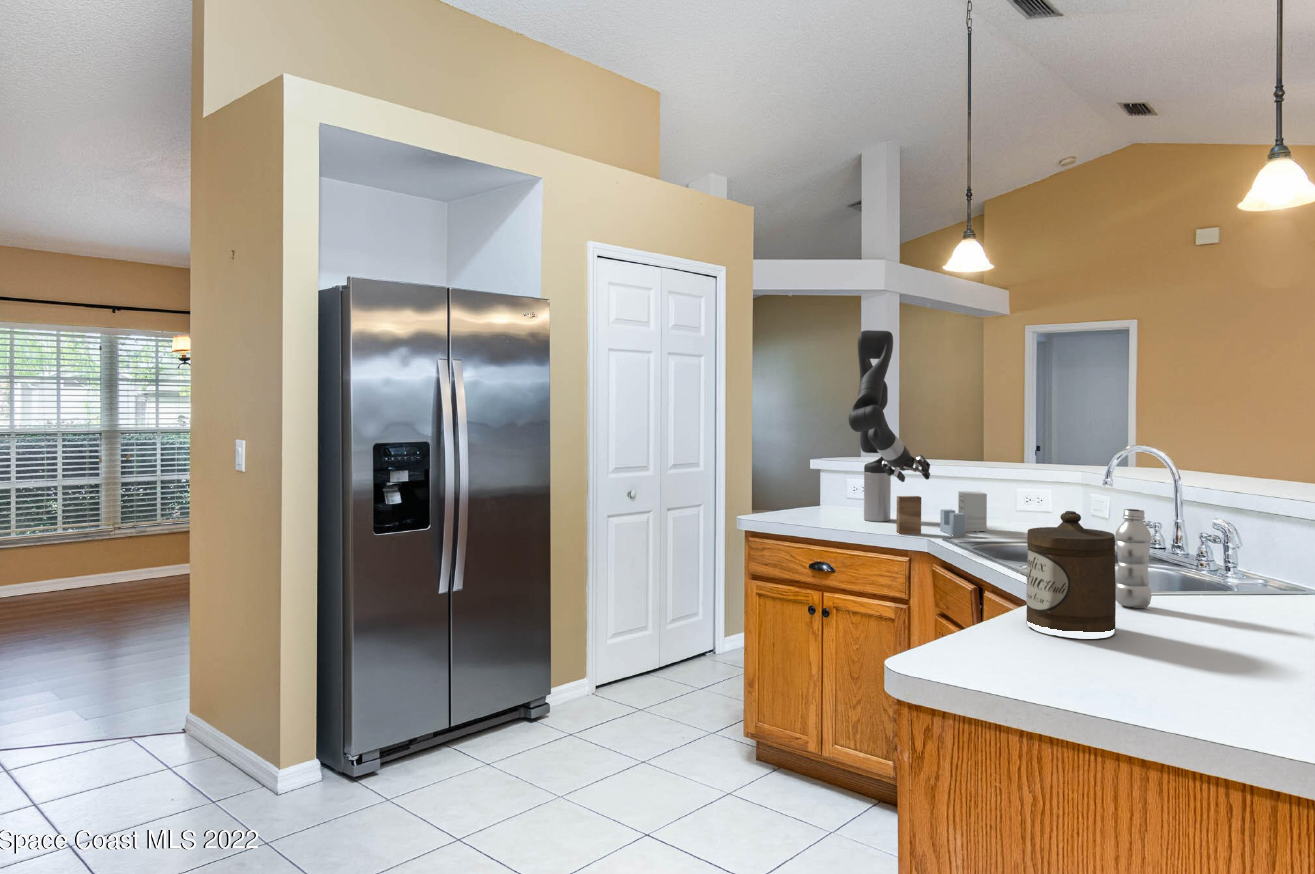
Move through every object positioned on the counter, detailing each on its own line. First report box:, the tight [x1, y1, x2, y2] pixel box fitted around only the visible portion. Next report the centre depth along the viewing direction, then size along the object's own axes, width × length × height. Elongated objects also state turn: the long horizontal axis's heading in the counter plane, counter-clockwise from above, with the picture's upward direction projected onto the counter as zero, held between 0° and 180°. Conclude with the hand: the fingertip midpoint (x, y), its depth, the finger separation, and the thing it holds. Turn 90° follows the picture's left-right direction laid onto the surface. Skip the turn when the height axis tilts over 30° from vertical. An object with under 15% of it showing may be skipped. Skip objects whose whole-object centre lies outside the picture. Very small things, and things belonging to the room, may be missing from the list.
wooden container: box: [1025, 510, 1117, 632], centre depth 153 cm, size 15×15×22 cm
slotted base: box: [939, 508, 966, 537], centre depth 266 cm, size 12×4×7 cm, turn 0°
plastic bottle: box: [1114, 508, 1153, 609], centre depth 169 cm, size 6×7×20 cm
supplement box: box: [957, 490, 988, 533], centre depth 272 cm, size 7×7×13 cm
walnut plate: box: [895, 495, 922, 535], centre depth 266 cm, size 3×7×12 cm, turn 90°
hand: (915, 478), depth 267 cm, fingers open, 8 cm apart
